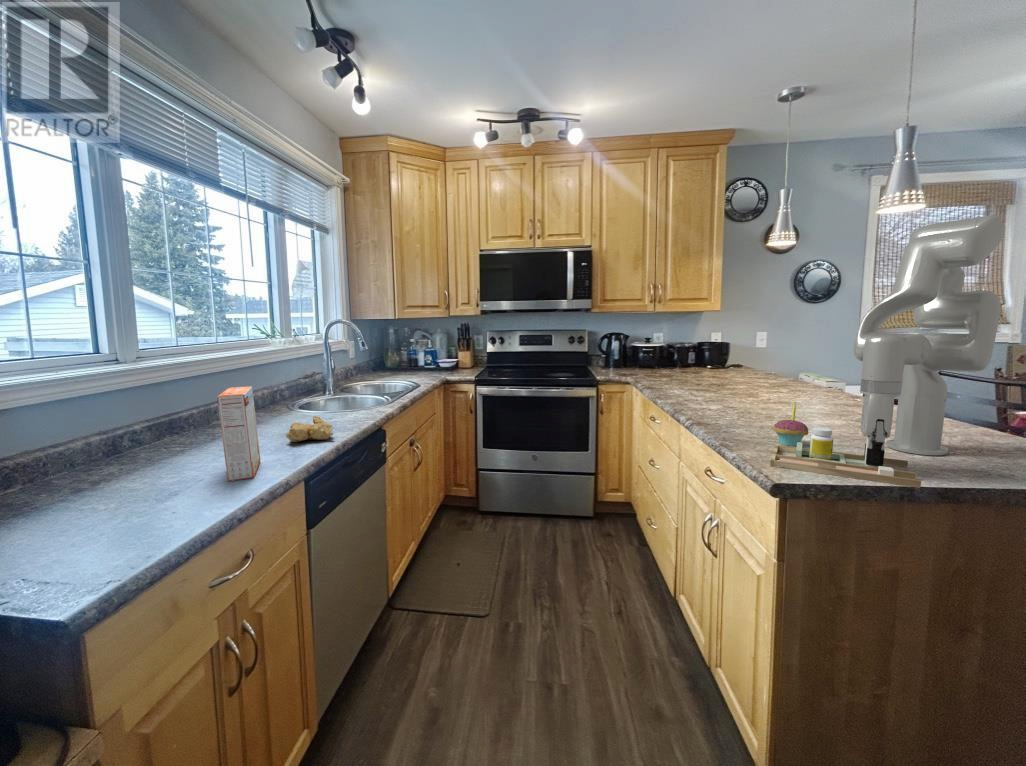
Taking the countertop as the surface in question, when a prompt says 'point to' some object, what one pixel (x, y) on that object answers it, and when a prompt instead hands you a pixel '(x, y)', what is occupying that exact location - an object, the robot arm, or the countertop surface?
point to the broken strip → (849, 468)
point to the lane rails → (830, 467)
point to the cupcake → (790, 430)
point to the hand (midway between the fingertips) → (873, 462)
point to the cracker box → (239, 432)
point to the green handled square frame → (835, 456)
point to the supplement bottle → (821, 444)
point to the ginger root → (310, 431)
